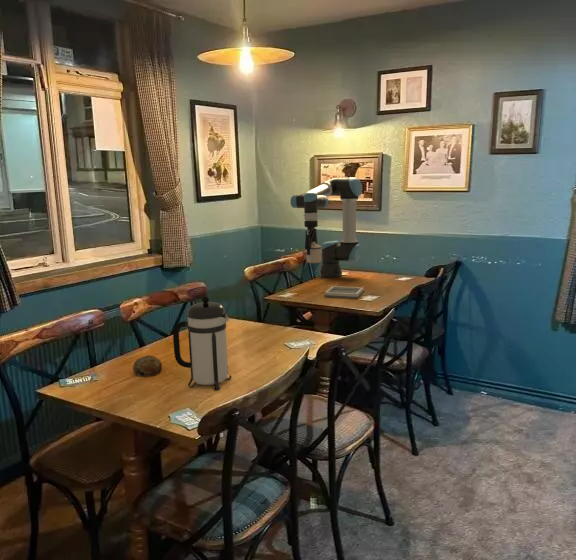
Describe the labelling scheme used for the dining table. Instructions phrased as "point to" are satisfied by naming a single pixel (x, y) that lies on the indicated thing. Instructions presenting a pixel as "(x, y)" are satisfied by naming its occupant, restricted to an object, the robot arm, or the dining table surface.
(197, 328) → the coffee press
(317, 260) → the teacup with lid
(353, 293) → the grey shallow tray
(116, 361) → the dining table surface
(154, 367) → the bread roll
